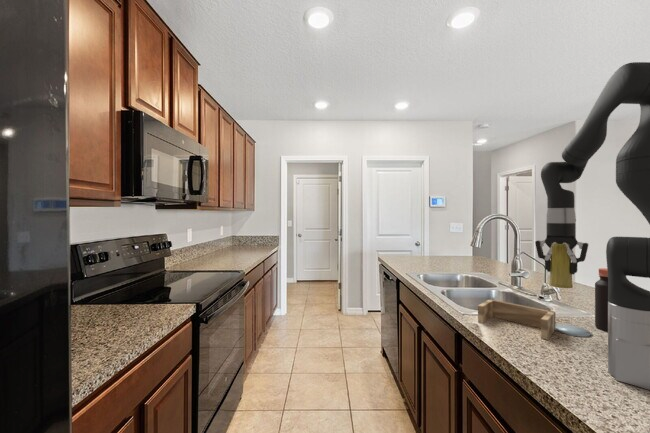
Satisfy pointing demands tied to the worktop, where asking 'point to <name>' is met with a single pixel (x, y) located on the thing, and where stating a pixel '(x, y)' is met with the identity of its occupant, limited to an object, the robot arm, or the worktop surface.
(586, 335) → the trivet
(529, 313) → the wooden bracket
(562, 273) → the vase
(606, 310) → the bottle
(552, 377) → the worktop surface
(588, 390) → the worktop surface
